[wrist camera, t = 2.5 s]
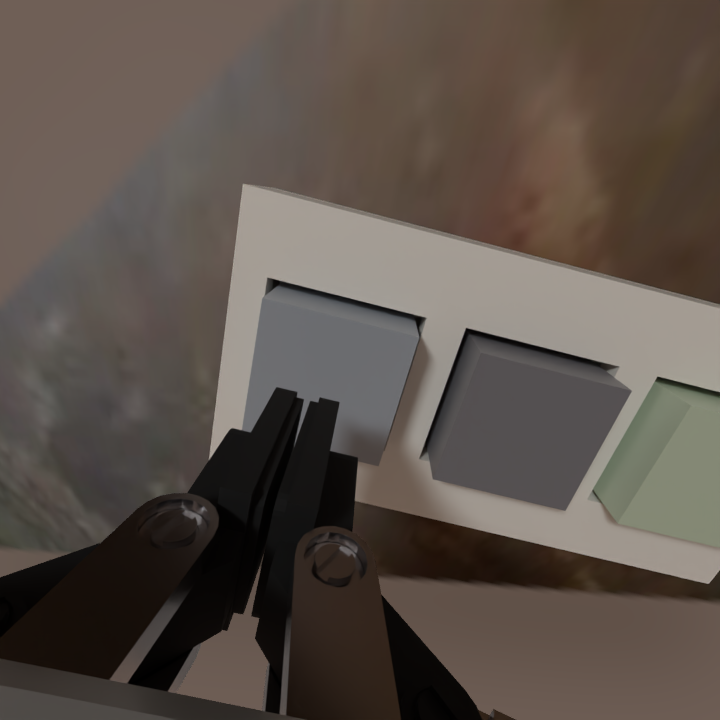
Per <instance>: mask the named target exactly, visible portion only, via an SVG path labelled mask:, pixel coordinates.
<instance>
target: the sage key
mask: <svg viewBox="0 0 720 720" xmlns="http://www.w3.org/2000/svg"><path fill="white" fill-rule="evenodd" d="M593 490H594V492H595V493H596V494H597V496H598V497H599V499H600V500H601V501H602V503H603V504H604V505H605V507H606V508H607V510H608V511H609V512H610V514H611V515H612V516H613V518H614V519H615V521H616V522H617V523H618V524H622V525H626V526H630V527H635V528H639V529H643V530H647V531H651V532H655V533H660V534H664V535H668V536H672V537H676V538H681V539H685V540H689V541H693V542H697V543H702V544H706V545H710V546H714V547H718V548H720V392H717V391H713V390H709V389H705V388H701V387H698V386H694V385H690V384H686V383H682V382H678V381H674V380H670V379H666V378H662V377H658V376H657V378H656V380H655V382H654V383H653V385H652V387H651V389H650V390H649V392H648V394H647V396H646V397H645V399H644V401H643V403H642V404H641V406H640V408H639V410H638V411H637V413H636V415H635V417H634V418H633V420H632V422H631V424H630V425H629V427H628V429H627V431H626V432H625V434H624V436H623V438H622V439H621V441H620V443H619V445H618V446H617V448H616V450H615V452H614V453H613V455H612V457H611V459H610V460H609V462H608V464H607V466H606V467H605V469H604V471H603V473H602V474H601V476H600V478H599V480H598V481H597V483H596V485H595V486H594V488H593Z"/></svg>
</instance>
